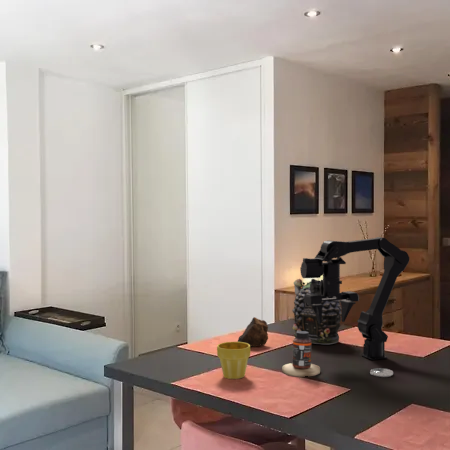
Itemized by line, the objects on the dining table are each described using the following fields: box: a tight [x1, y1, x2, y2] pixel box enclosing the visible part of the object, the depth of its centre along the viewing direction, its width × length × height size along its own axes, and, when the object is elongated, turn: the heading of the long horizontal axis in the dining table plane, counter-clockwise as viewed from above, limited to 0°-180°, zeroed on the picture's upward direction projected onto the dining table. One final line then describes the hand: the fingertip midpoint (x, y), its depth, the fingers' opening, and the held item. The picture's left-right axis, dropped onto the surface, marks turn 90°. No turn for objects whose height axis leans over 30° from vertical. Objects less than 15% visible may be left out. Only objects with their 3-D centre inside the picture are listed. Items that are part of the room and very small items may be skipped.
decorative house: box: [291, 278, 342, 345], centre depth 228 cm, size 21×15×25 cm
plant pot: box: [216, 341, 251, 380], centre depth 180 cm, size 10×10×10 cm
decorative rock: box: [237, 316, 269, 348], centre depth 220 cm, size 12×6×11 cm, turn 104°
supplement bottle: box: [291, 331, 312, 369], centre depth 185 cm, size 6×6×11 cm
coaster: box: [281, 363, 321, 378], centre depth 185 cm, size 12×12×1 cm
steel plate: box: [369, 367, 394, 378], centre depth 182 cm, size 7×7×1 cm
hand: (331, 322), depth 198 cm, fingers open, 9 cm apart
